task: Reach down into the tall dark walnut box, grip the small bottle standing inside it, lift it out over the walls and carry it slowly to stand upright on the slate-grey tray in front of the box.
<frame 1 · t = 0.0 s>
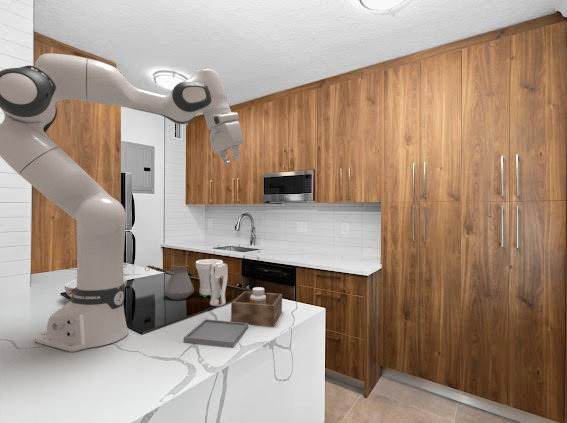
hand: (231, 162, 103), 52 cm above the counter, tool tilted 20°, fingers open, 8 cm apart
beer glass: (217, 304, 117), on the counter
coffee pot: (169, 300, 120), on the counter
walnut box: (257, 317, 103), on the counter
serving bowl: (96, 298, 120), on the counter
supplement bottle: (257, 317, 103), resting in walnut box
cup: (208, 295, 128), on the counter
grey tray: (218, 334, 88), on the counter
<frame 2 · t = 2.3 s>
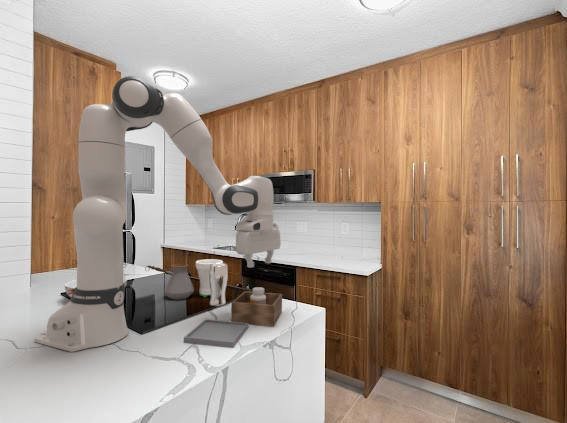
hand: (259, 265, 103), 18 cm above the counter, tool pointing down, fingers open, 8 cm apart
nothing on the counter moved.
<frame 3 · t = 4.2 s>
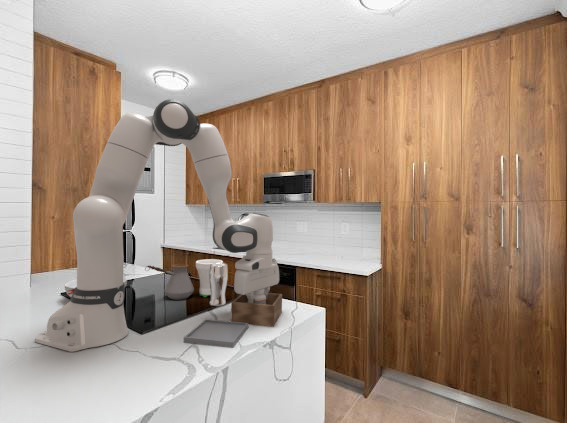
hand: (258, 302, 103), 5 cm above the counter, tool pointing down, fingers closed on supplement bottle, 5 cm apart
supplement bottle: (257, 317, 103), resting in walnut box, touching gripper
everything else where it was.
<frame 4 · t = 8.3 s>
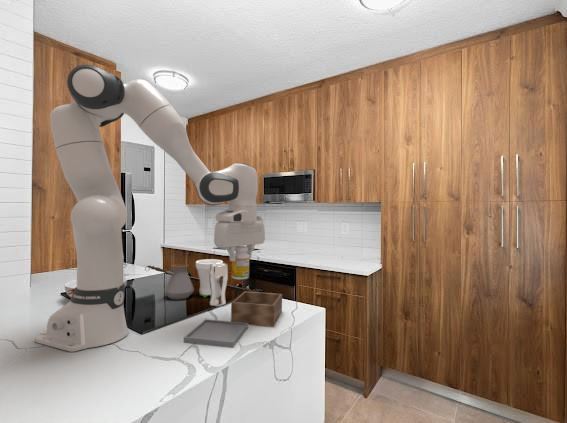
hand: (240, 259, 96), 20 cm above the counter, tool pointing down, fingers closed on supplement bottle, 5 cm apart
supplement bottle: (240, 278, 96), point 15 cm above the counter, touching gripper
everything else where it was.
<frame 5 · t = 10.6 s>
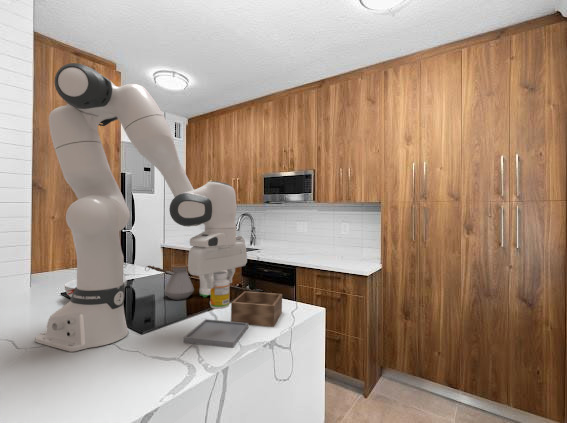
hand: (219, 285, 88), 14 cm above the counter, tool pointing down, fingers closed on supplement bottle, 5 cm apart
supplement bottle: (219, 307, 88), point 8 cm above the counter, touching gripper
everything else where it was.
when the fingers open (9 cm above the counter, at t = 12.6 s): supplement bottle drops 1 cm, resting on grey tray.
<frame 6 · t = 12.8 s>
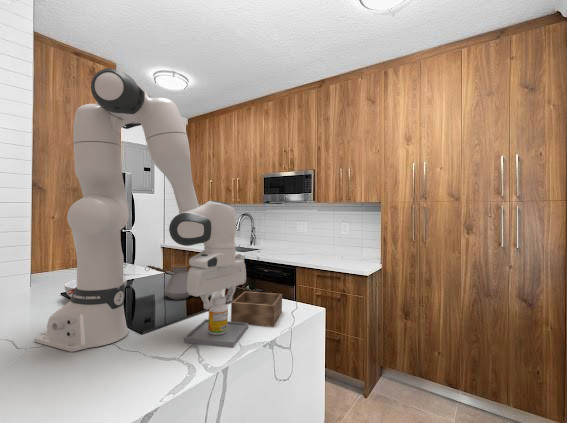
hand: (218, 304, 88), 9 cm above the counter, tool pointing down, fingers open, 7 cm apart
supplement bottle: (217, 332, 88), point 1 cm above the counter, touching grey tray
everything else where it was.
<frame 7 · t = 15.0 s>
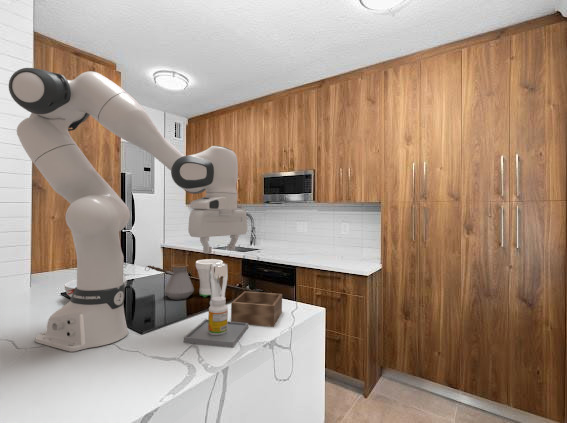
hand: (219, 251, 88), 24 cm above the counter, tool pointing down, fingers open, 8 cm apart
nothing on the counter moved.
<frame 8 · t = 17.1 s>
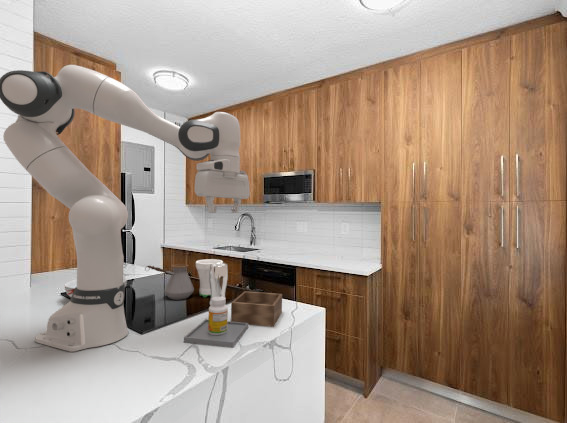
hand: (224, 212, 93), 35 cm above the counter, tool pointing down, fingers open, 8 cm apart
nothing on the counter moved.
at the end: supplement bottle inside the target area on the grey tray (0.1 cm from its centre), point 0.6 cm above the grey tray's base; supplement bottle tilted 0°; the gripper is holding nothing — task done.
